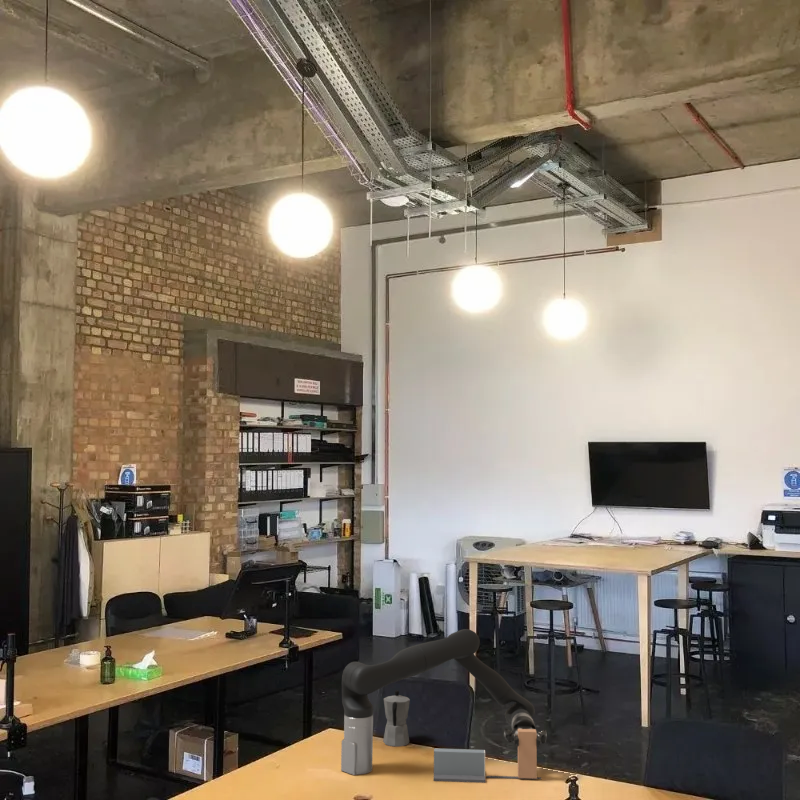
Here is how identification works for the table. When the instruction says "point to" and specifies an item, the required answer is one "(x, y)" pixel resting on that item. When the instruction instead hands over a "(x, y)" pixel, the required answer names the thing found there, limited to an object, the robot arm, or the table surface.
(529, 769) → the stub
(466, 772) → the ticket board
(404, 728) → the coffeepot
